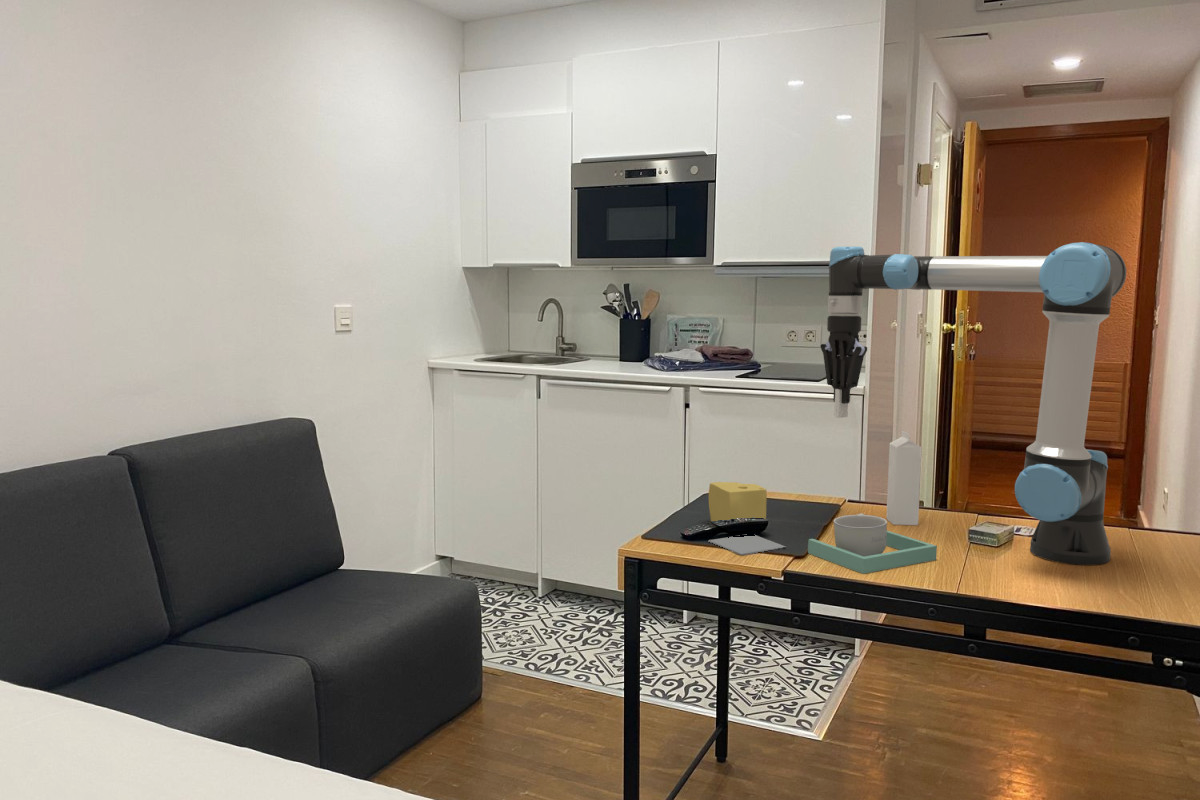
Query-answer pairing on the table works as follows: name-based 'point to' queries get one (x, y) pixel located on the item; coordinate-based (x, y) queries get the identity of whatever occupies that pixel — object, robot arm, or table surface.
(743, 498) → the cheese
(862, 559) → the cup bay
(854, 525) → the teacup
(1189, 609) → the table surface
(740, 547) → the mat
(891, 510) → the milk
